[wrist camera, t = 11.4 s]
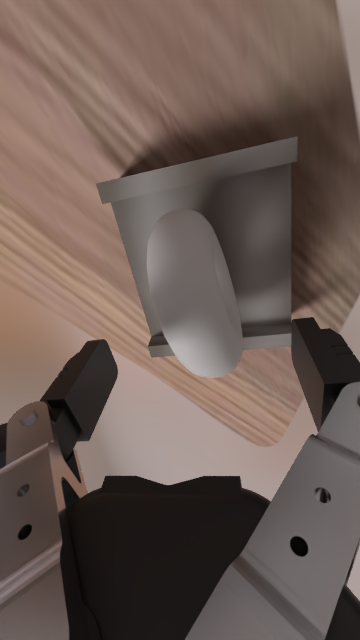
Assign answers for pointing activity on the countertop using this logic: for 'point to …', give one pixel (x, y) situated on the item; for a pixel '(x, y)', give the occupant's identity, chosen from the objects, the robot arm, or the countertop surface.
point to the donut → (194, 294)
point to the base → (221, 230)
